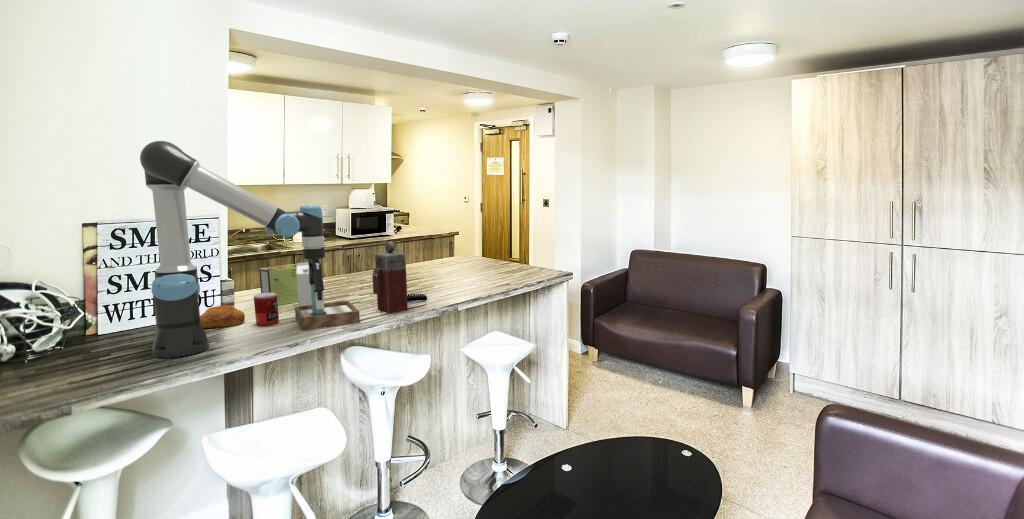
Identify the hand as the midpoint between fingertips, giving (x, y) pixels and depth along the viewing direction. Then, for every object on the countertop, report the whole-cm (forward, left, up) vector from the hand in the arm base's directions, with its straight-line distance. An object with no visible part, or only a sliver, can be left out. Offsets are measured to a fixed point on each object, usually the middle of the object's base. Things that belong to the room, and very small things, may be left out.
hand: (317, 305), depth 197 cm
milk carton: (0, +26, -6) cm, 27 cm away
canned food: (-17, +7, -6) cm, 19 cm away
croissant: (-32, +16, -7) cm, 36 cm away
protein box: (-8, +43, -6) cm, 44 cm away
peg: (0, 0, -6) cm, 6 cm away
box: (+3, 0, -6) cm, 7 cm away
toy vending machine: (+28, +3, -6) cm, 29 cm away
